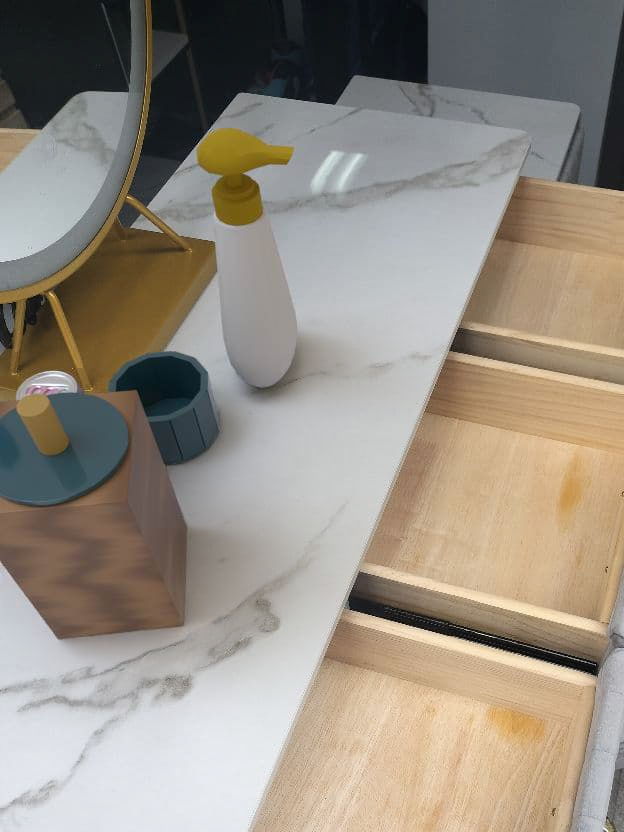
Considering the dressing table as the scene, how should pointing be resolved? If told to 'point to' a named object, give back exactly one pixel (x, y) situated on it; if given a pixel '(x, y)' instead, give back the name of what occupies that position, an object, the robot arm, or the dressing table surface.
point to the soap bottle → (249, 258)
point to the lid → (59, 448)
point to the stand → (104, 544)
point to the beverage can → (48, 384)
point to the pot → (173, 402)
